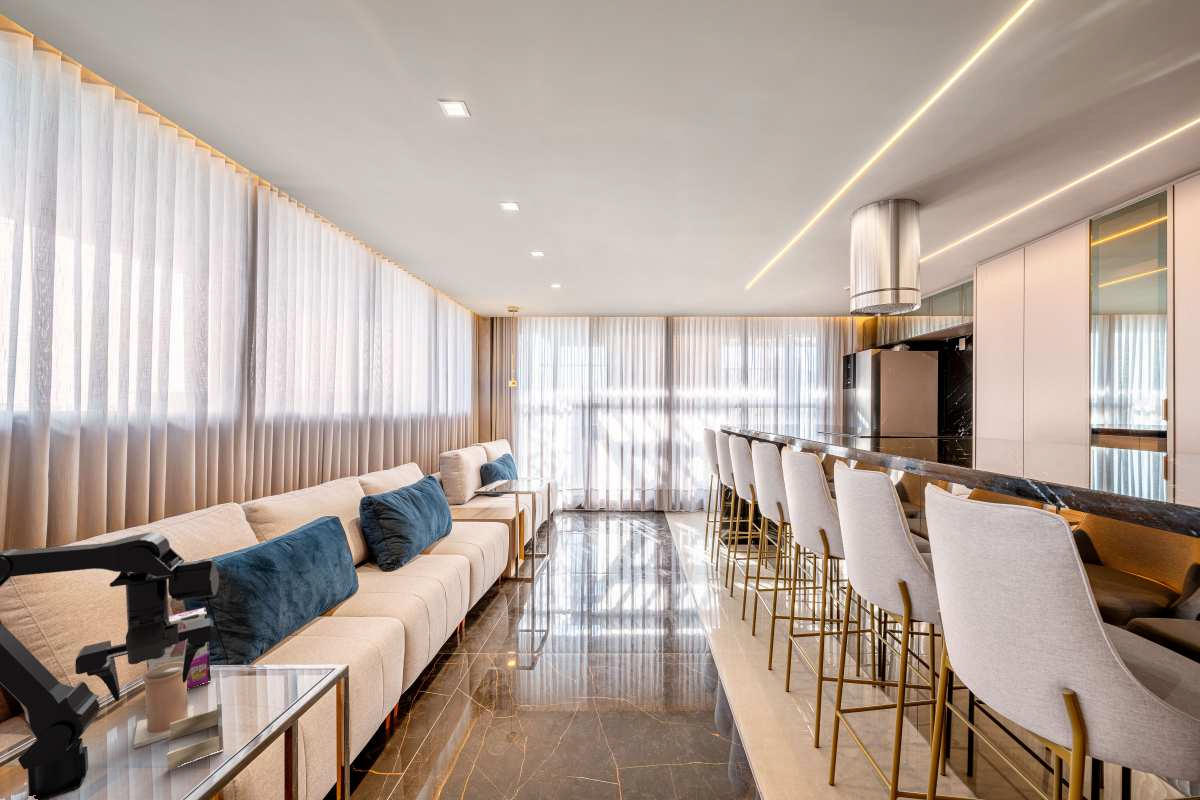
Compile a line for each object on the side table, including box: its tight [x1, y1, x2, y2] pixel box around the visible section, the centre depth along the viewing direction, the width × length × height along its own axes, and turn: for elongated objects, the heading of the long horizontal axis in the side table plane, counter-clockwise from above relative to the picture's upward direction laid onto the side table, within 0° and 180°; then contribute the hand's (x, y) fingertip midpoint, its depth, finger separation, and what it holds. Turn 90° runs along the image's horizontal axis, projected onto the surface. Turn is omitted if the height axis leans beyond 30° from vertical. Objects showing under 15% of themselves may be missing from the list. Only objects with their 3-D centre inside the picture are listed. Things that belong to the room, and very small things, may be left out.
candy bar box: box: [146, 607, 212, 690], centre depth 122 cm, size 11×5×16 cm, turn 129°
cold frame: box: [167, 677, 224, 772], centre depth 101 cm, size 8×12×9 cm
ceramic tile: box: [132, 704, 195, 749], centre depth 107 cm, size 9×9×1 cm
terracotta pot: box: [142, 662, 189, 733], centre depth 107 cm, size 7×7×11 cm
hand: (152, 690), depth 97 cm, fingers open, 9 cm apart
